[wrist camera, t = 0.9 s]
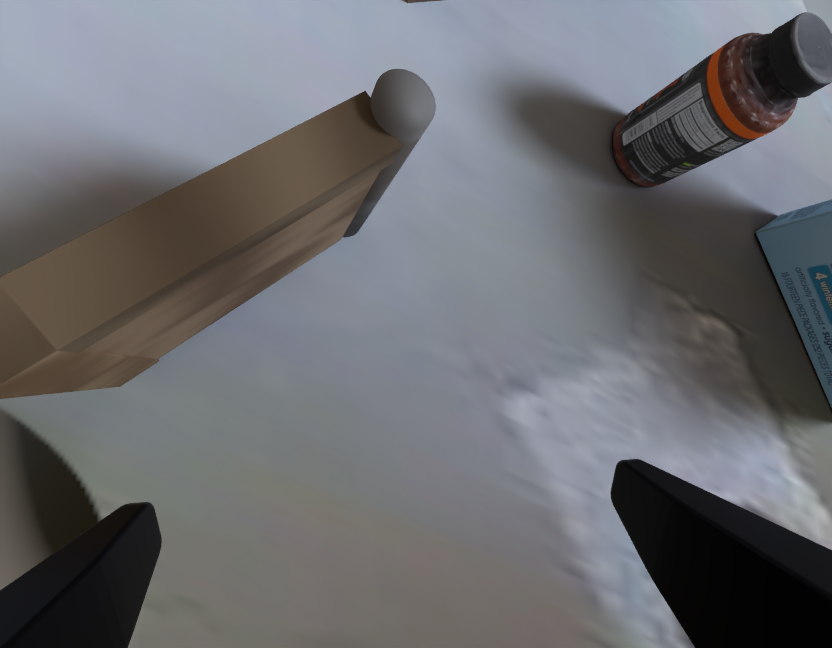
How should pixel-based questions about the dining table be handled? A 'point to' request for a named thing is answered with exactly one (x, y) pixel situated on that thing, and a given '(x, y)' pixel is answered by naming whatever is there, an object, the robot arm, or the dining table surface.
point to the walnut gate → (203, 246)
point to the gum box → (806, 278)
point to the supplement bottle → (724, 101)
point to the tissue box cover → (412, 0)
